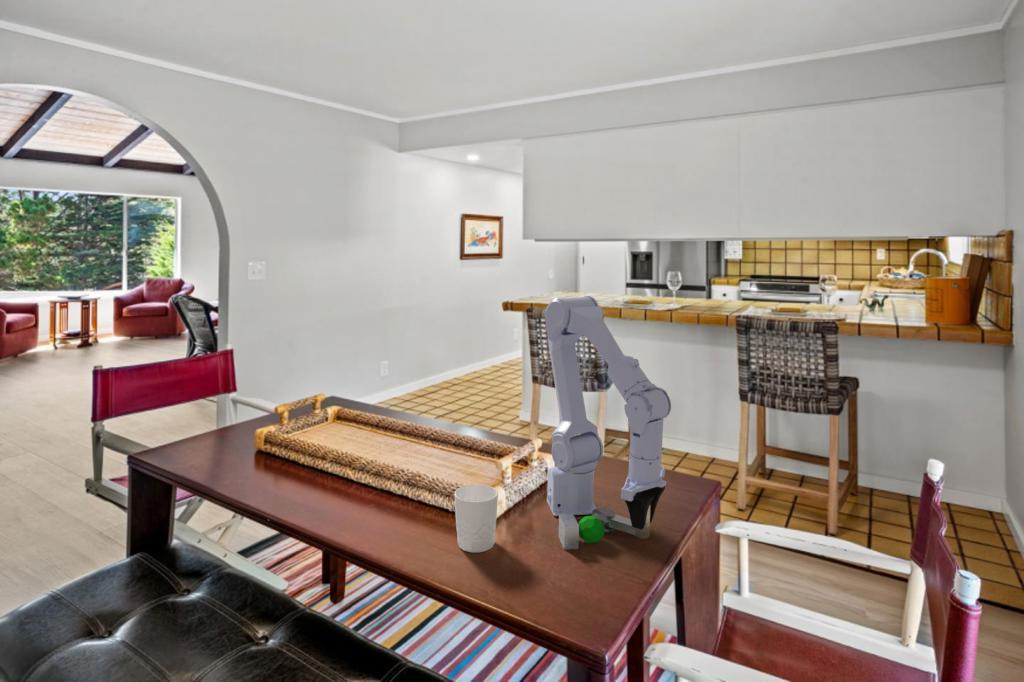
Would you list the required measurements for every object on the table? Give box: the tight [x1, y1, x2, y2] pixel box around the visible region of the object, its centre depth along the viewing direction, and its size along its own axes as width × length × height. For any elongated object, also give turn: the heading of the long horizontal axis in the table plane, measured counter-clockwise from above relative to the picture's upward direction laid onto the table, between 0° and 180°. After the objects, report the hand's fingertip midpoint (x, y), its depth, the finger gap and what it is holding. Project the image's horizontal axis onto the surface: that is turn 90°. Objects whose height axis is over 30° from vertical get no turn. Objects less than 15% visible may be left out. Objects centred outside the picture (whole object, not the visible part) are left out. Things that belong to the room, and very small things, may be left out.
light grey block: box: [557, 513, 580, 550], centre depth 113 cm, size 3×5×4 cm, turn 8°
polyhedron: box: [578, 515, 605, 544], centre depth 114 cm, size 5×5×5 cm
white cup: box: [453, 483, 499, 553], centre depth 112 cm, size 8×8×10 cm
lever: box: [591, 504, 651, 539], centre depth 116 cm, size 12×4×6 cm, turn 53°
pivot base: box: [604, 527, 616, 535], centre depth 119 cm, size 5×5×1 cm
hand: (641, 524), depth 114 cm, fingers closed on lever, 3 cm apart
